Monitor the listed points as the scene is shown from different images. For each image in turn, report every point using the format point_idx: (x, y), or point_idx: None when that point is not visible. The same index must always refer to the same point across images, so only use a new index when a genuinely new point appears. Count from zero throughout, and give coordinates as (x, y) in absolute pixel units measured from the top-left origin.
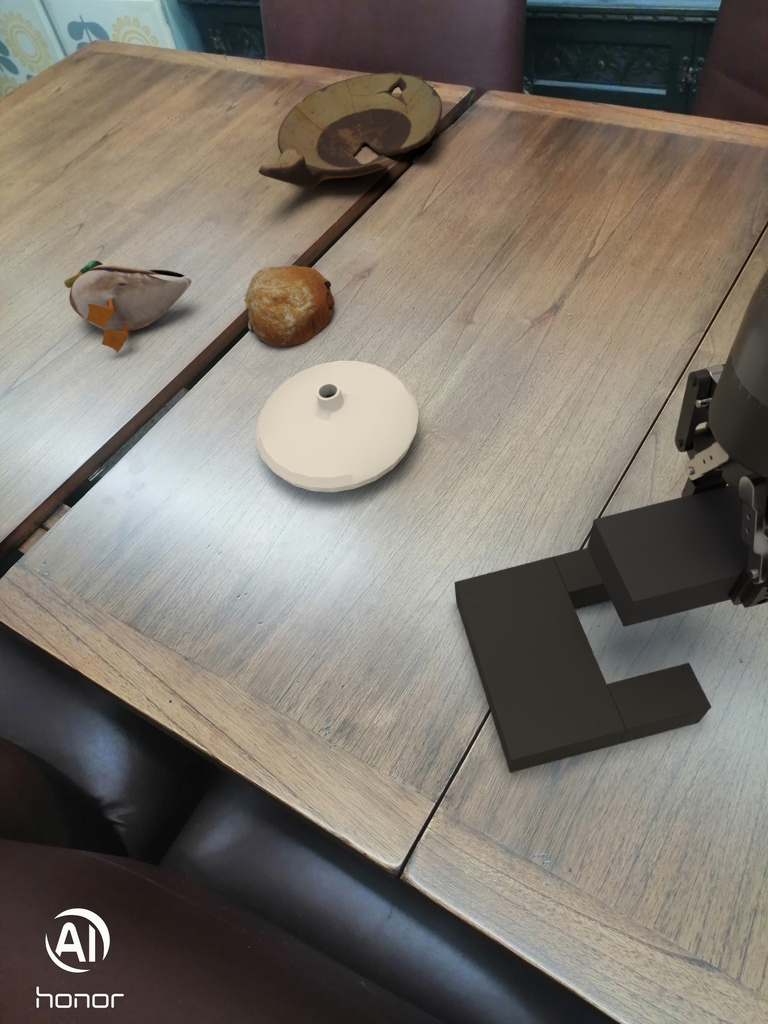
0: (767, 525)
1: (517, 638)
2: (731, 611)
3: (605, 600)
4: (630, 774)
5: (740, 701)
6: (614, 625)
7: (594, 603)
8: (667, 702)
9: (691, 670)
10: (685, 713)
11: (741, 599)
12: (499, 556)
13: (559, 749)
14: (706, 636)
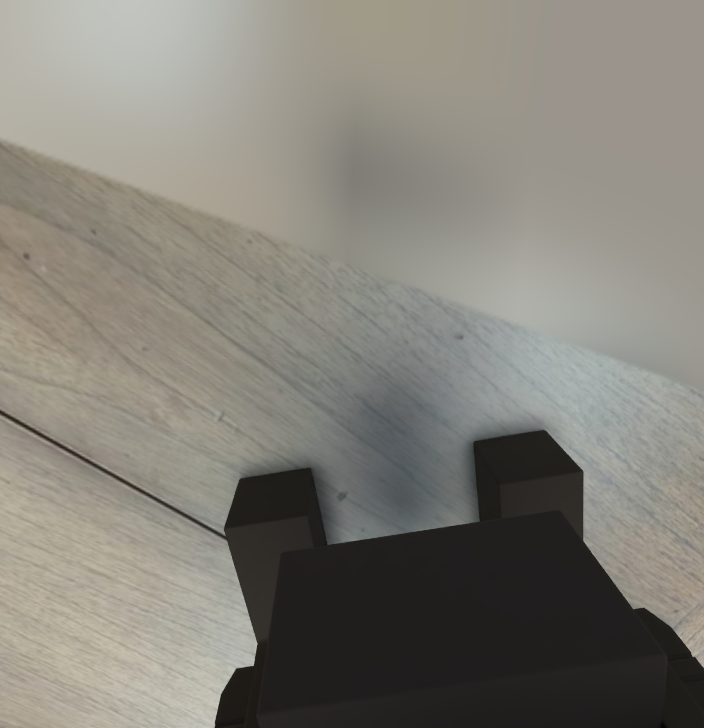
0: (489, 704)
1: None
2: (364, 322)
3: (320, 517)
4: (590, 530)
5: (526, 359)
6: (365, 508)
7: (324, 532)
8: None
9: (514, 485)
10: (582, 510)
11: None
12: (221, 641)
13: None
14: (406, 377)
